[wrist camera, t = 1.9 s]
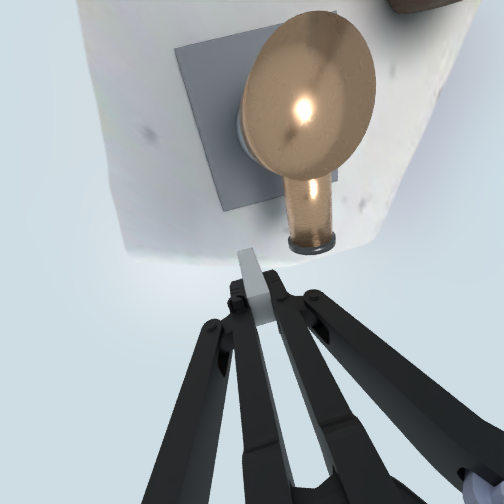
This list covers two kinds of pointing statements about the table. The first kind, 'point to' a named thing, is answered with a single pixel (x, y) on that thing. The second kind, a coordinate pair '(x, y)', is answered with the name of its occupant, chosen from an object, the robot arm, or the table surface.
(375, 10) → the table surface
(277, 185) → the duct stub
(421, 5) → the plant pot
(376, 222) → the table surface
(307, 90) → the copper flat bottle shape
